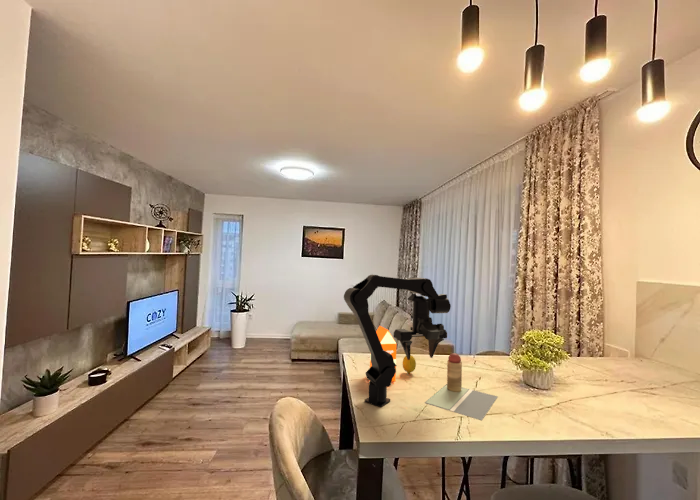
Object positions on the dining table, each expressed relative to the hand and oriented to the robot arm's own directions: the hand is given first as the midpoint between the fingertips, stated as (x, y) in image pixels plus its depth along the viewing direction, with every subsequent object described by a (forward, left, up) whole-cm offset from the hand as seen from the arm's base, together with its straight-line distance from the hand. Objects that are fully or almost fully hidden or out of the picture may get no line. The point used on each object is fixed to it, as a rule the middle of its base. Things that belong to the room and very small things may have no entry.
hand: (420, 358), depth 111 cm
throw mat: (+6, -13, -13) cm, 19 cm away
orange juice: (+7, +19, -13) cm, 24 cm away
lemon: (+19, +13, -13) cm, 27 cm away
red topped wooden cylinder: (+13, -8, -12) cm, 20 cm away
